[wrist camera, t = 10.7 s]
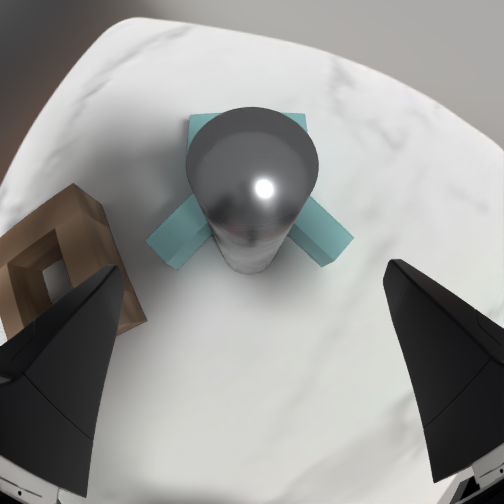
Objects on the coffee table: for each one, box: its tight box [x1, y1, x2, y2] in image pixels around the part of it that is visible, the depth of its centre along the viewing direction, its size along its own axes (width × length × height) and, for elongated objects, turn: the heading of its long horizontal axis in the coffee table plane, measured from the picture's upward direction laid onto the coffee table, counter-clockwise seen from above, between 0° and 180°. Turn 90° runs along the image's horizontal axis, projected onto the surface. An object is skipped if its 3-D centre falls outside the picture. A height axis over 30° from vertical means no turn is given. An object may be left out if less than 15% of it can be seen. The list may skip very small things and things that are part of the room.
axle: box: [186, 107, 319, 275], centre depth 14 cm, size 4×4×13 cm
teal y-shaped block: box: [145, 113, 354, 270], centre depth 19 cm, size 10×13×3 cm
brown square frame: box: [0, 183, 147, 340], centre depth 17 cm, size 10×10×4 cm
